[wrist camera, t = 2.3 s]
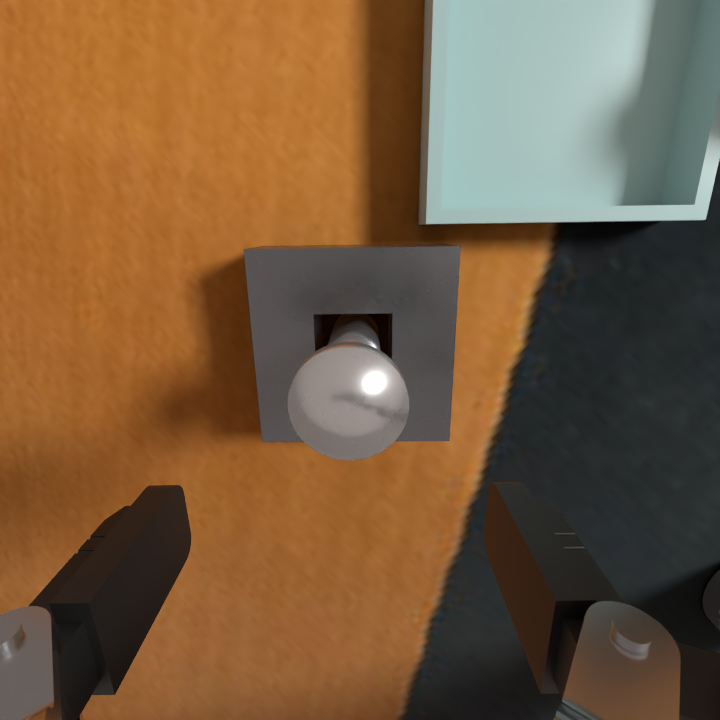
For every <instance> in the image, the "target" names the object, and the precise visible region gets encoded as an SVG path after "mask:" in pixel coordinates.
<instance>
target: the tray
mask: <svg viewBox="0 0 720 720" xmlns="http://www.w3.org/2000/svg"><path fill="white" fill-rule="evenodd" d="M719 159H720V0H424V36H423V72H422V109H421V145H420V182H419V219H418V225H435V224H501V223H568V222H634V221H681V220H706V216H707V211H708V207H709V203H710V198H711V194H712V189H713V185H714V181H715V176H716V172H717V167H718V163H719Z"/></svg>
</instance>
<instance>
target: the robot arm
mask: <svg viewBox="0 0 720 720" xmlns="http://www.w3.org/2000/svg"><path fill="white" fill-rule="evenodd" d="M485 545H486V551H487V555H488V558H489V561H490V564H491V566H492V569H493V571H494V574H495V577H496V579H497V582H498V585H499V587H500V590H501V592H502V595H503V598H504V600H505V603H506V605H507V608H508V611H509V613H510V616H511V618H512V621H513V624H514V626H515V629H516V631H517V634H518V637H519V639H520V642H521V644H522V647H523V650H524V652H525V655H526V657H527V660H528V663H529V665H530V668H531V670H532V673H533V676H534V678H535V681H536V683H537V686H538V689H539V691H540V694H560V695H561V698H562V702H561V704H560V703H559V706H558V709H557V712H556V715H555V719H554V720H720V654H719V653H716V652H712V651H708V650H704V649H701V648H697V647H693V646H689V645H686V644H683V643H680V642H677V641H674V639H673V638H672V636H671V635H670V633H669V632H668V631H667V630H666V629H665V628H664V627H663V626H662V625H661V624H660V623H659V622H658V621H656V620H655V619H654V618H652V617H651V616H650V615H648V614H646V613H645V612H643V611H641V610H639V609H637V608H635V607H633V606H630V605H628V604H625V603H624V602H623V601H622V599H621V598H620V596H619V595H618V594H617V592H616V591H615V589H614V588H613V586H612V585H611V584H610V582H609V581H608V579H607V578H606V576H605V575H604V574H603V572H602V571H601V569H600V568H599V566H598V565H597V564H596V562H595V561H594V559H593V558H592V556H591V555H590V554H589V552H588V551H587V550H585V549H584V545H583V544H582V542H581V541H580V539H579V538H578V537H577V535H575V534H574V531H573V529H572V528H571V527H570V525H569V524H568V522H567V521H566V519H565V518H564V517H563V515H561V514H560V513H559V512H557V511H556V510H555V509H553V508H552V507H551V506H549V505H548V504H547V503H545V502H534V500H533V499H532V497H531V495H530V494H529V492H528V491H527V489H526V488H525V486H524V485H523V483H521V482H491V483H490V485H489V490H488V500H487V511H486V522H485ZM190 546H191V531H190V526H189V520H188V514H187V508H186V502H185V497H184V492H183V489H182V487H181V486H179V485H161V486H148V487H147V488H146V489H145V490H144V491H143V492H142V493H141V494H140V496H139V497H138V498H137V499H136V500H135V502H134V503H133V504H132V505H131V506H125V507H123V508H122V509H120V510H119V511H117V512H116V513H114V514H113V515H111V516H110V517H109V518H107V519H106V520H104V522H103V523H102V524H101V525H100V526H99V527H98V528H97V529H96V531H95V532H94V533H93V534H92V535H91V537H90V540H87V541H86V542H85V543H84V544H83V545H82V546H81V547H80V549H79V550H78V553H77V554H74V555H73V557H72V558H71V559H70V560H69V561H68V562H67V563H66V564H65V566H64V567H63V568H62V569H61V570H60V571H59V572H58V573H57V575H56V576H55V577H54V578H53V579H52V580H51V581H50V582H49V584H48V585H47V586H46V587H45V588H44V589H43V590H42V591H41V593H40V594H39V595H38V596H37V597H36V598H35V599H34V600H33V602H32V603H31V604H30V605H29V606H27V607H21V608H17V609H14V610H11V611H8V612H6V613H3V614H1V615H0V720H84V718H83V714H82V711H83V709H84V707H85V706H86V704H87V702H88V700H89V699H90V697H91V695H115V694H116V692H117V690H118V688H119V686H120V684H121V682H122V680H123V679H124V677H125V675H126V673H127V671H128V669H129V667H130V665H131V663H132V662H133V660H134V658H135V656H136V654H137V652H138V650H139V648H140V647H141V645H142V643H143V641H144V639H145V637H146V635H147V633H148V632H149V630H150V628H151V626H152V624H153V622H154V620H155V618H156V617H157V615H158V613H159V611H160V609H161V607H162V605H163V603H164V601H165V600H166V598H167V596H168V594H169V592H170V590H171V588H172V586H173V585H174V583H175V581H176V579H177V577H178V575H179V573H180V571H181V570H182V568H183V566H184V564H185V562H186V560H187V558H188V555H189V551H190ZM702 602H703V609H704V612H705V614H706V616H707V617H708V619H709V620H710V621H711V622H712V623H713V624H714V625H715V627H716V628H717V629H718V630H719V631H720V570H718V571H717V572H716V573H715V574H714V575H713V577H712V578H711V580H710V581H709V582H708V584H707V586H706V589H705V591H704V594H703V600H702Z"/></svg>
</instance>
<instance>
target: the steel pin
mask: <svg viewBox="0 0 720 720" xmlns="http://www.w3.org/2000/svg"><path fill="white" fill-rule="evenodd" d="M288 413H289V417H290V421H291V423H292V425H293V428H294V429H295V431H296V433H297V434H298V436H299V437H300V438H301V439H302V440H303V441H304V442H305V443H306V444H307V445H308V446H309V447H311V448H312V449H313V450H315V451H317V452H318V453H320V454H322V455H325V456H327V457H331V458H334V459H340V460H359V459H364V458H368V457H371V456H374V455H376V454H378V453H380V452H382V451H383V450H385V449H386V448H388V447H389V446H390V445H391V444H392V443H393V442H394V441H395V440H396V439H397V438H398V437H399V435H400V434H401V432H402V430H403V429H404V427H405V424H406V422H407V418H408V414H409V397H408V392H407V388H406V384H405V381H404V378H403V375H402V373H401V371H400V370H399V368H398V367H397V365H396V364H395V363H394V362H393V360H392V359H391V358H390V357H388V356H387V355H386V354H385V353H383V352H382V351H381V350H380V342H379V334H378V328H377V325H376V323H375V321H374V320H373V319H372V318H371V317H370V316H369V315H367V314H343V315H342V316H340V317H339V318H338V320H337V321H336V322H335V324H334V327H333V330H332V333H331V336H330V339H329V342H328V345H327V346H325V347H323V348H321V349H319V350H317V351H316V352H314V353H313V354H311V355H310V356H309V357H308V358H307V359H306V360H305V361H304V362H303V363H302V365H301V366H300V368H299V369H298V371H297V373H296V375H295V377H294V379H293V382H292V384H291V386H290V390H289V394H288Z"/></svg>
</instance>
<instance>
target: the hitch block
mask: <svg viewBox="0 0 720 720" xmlns="http://www.w3.org/2000/svg"><path fill="white" fill-rule="evenodd" d="M460 247H461V246H456V245H451V244H385V245H315V246H261V247H255V248H248V249H244V259H245V270H246V280H247V290H248V301H249V311H250V321H251V332H252V342H253V352H254V363H255V373H256V383H257V394H258V404H259V414H260V425H261V435H262V442H304V441H303V440H302V439H301V438H300V437H299V436H298V434H297V433H296V431H295V429H294V428H293V425H292V423H291V421H290V417H289V413H288V394H289V390H290V386H291V384H292V382H293V379H294V377H295V375H296V373H297V371H298V369H299V368H300V366H301V365H302V363H303V362H304V361H305V360H306V359H307V358H308V357H309V356H310V355H311V354H313V353H314V352H316V351H317V350H319V349H321V348H323V330H322V314H382V313H388V357H390V358H391V359H392V360H393V362H394V363H395V364H396V365H397V367H398V368H399V370H400V371H401V373H402V375H403V378H404V381H405V384H406V388H407V392H408V397H409V414H408V418H407V422H406V424H405V427H404V429H403V430H402V432H401V434H400V435H399V437H398V438H397V439H396V440H395V441H449V438H450V420H451V403H452V386H453V368H454V351H455V334H456V316H457V299H458V282H459V265H460Z"/></svg>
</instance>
